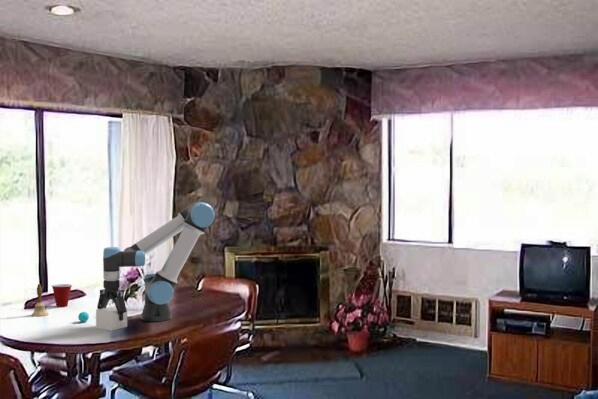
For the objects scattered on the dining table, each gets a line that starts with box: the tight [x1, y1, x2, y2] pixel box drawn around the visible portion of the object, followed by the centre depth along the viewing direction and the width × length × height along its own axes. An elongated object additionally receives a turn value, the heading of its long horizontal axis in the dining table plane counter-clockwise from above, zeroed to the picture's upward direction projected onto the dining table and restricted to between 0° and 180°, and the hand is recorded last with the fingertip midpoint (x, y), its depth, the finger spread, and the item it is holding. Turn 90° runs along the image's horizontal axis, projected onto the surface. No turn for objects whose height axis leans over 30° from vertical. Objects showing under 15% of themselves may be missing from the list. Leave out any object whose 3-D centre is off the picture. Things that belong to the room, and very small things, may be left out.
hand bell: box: [31, 283, 49, 318], centre depth 360 cm, size 8×8×16 cm
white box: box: [95, 305, 128, 332], centre depth 334 cm, size 10×10×9 cm
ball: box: [77, 311, 90, 323], centre depth 345 cm, size 5×5×5 cm
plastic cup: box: [51, 283, 73, 308], centre depth 382 cm, size 11×11×12 cm
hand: (111, 325), depth 334 cm, fingers closed on white box, 10 cm apart
